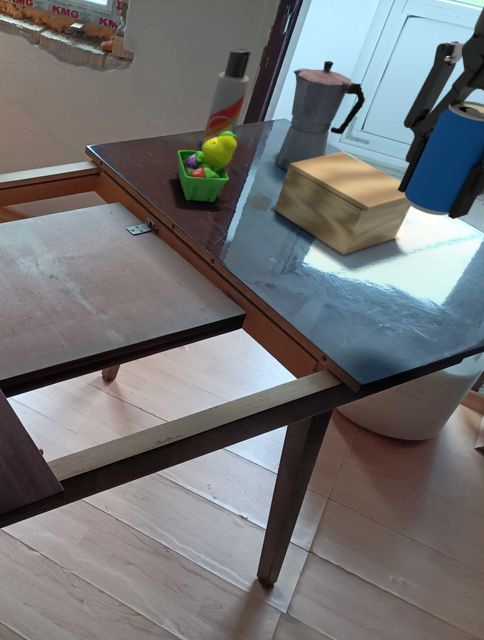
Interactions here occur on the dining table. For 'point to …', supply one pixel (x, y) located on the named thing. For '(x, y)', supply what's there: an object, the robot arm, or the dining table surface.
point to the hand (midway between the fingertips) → (431, 201)
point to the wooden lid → (352, 180)
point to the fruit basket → (206, 168)
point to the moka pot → (316, 113)
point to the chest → (337, 215)
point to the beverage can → (448, 158)
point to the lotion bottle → (228, 95)
